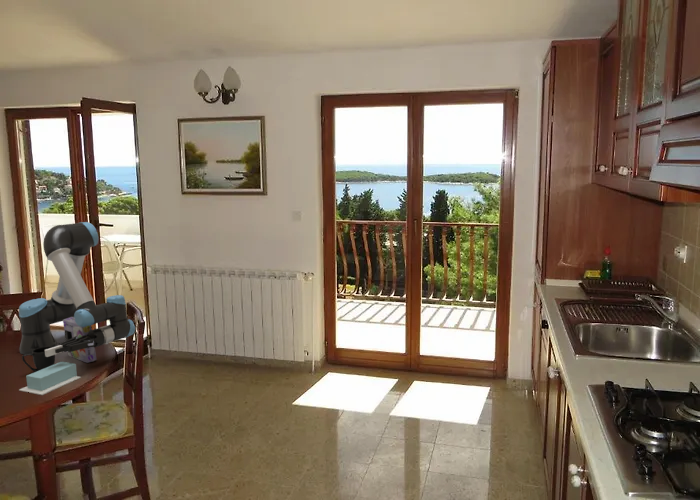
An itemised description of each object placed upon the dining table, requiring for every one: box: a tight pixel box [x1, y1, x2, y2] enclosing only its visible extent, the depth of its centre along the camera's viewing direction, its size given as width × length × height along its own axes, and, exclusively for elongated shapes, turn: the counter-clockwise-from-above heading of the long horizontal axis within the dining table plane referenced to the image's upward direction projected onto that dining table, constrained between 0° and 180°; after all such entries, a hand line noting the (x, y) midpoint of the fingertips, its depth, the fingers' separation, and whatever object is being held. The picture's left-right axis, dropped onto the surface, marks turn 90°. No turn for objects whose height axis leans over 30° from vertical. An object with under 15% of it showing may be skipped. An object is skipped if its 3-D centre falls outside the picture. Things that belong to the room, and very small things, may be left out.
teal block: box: [26, 361, 78, 391], centre depth 220 cm, size 8×5×16 cm
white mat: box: [18, 375, 81, 396], centre depth 219 cm, size 13×18×1 cm
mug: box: [21, 346, 56, 373], centre depth 231 cm, size 8×12×10 cm
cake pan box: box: [62, 317, 97, 364], centre depth 246 cm, size 19×5×18 cm, turn 51°
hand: (46, 353), depth 219 cm, fingers closed
